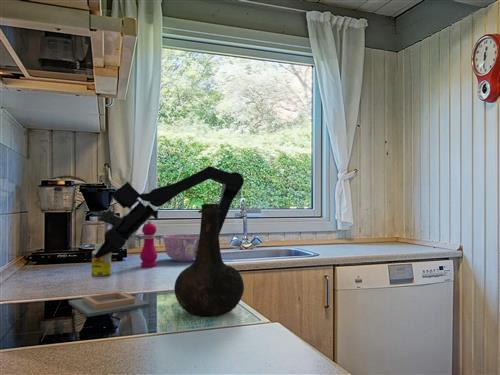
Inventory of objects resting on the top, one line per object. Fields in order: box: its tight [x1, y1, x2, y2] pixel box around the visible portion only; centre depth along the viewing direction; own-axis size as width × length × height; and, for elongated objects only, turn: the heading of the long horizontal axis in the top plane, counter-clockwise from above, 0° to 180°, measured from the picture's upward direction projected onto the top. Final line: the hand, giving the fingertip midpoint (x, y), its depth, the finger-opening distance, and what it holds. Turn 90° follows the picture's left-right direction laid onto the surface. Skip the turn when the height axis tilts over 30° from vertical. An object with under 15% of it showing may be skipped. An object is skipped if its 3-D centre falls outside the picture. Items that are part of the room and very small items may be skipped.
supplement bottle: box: [91, 243, 112, 280], centre depth 122 cm, size 6×6×10 cm
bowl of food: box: [162, 233, 200, 263], centre depth 190 cm, size 20×20×12 cm
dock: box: [68, 291, 150, 318], centre depth 108 cm, size 16×16×2 cm
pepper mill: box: [139, 219, 158, 269], centre depth 171 cm, size 7×7×20 cm
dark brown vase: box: [173, 203, 245, 318], centre depth 102 cm, size 18×18×28 cm
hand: (96, 256), depth 121 cm, fingers closed on supplement bottle, 5 cm apart
